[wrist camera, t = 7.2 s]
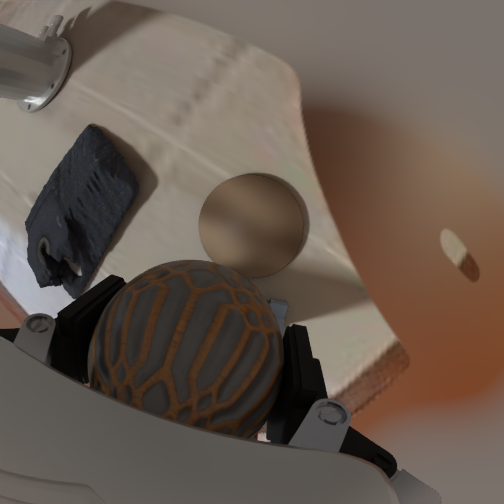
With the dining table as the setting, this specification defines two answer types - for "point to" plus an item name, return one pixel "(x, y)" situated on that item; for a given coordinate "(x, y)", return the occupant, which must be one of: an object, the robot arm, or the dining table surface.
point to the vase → (191, 348)
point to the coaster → (251, 225)
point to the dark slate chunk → (78, 212)
